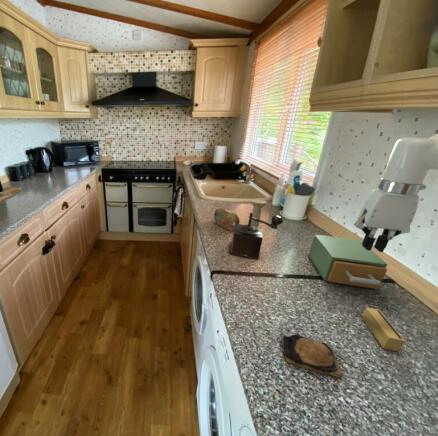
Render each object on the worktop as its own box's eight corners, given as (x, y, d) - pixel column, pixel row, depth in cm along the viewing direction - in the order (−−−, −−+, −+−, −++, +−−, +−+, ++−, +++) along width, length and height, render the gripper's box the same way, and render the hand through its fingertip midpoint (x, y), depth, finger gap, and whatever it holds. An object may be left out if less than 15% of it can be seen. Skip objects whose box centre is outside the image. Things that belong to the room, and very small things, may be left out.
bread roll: (330, 347, 57) (335, 336, 56) (342, 381, 50) (348, 369, 48) (280, 334, 61) (283, 323, 59) (285, 363, 53) (289, 351, 52)
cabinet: (376, 288, 77) (387, 264, 74) (324, 280, 81) (332, 256, 77) (351, 260, 92) (360, 239, 88) (308, 255, 96) (314, 234, 92)
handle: (245, 228, 118) (250, 199, 112) (259, 230, 116) (265, 200, 110) (246, 232, 114) (251, 202, 108) (260, 234, 112) (267, 203, 106)
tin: (213, 221, 125) (214, 206, 122) (217, 220, 126) (219, 205, 123) (233, 233, 113) (236, 216, 109) (239, 232, 114) (241, 215, 111)
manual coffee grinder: (230, 255, 95) (237, 212, 88) (231, 242, 104) (237, 203, 97) (273, 263, 90) (285, 218, 83) (270, 249, 100) (280, 208, 92)
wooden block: (361, 317, 66) (366, 307, 65) (374, 319, 65) (379, 309, 64) (383, 348, 57) (389, 337, 56) (398, 351, 56) (405, 340, 55)
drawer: (387, 299, 71) (397, 279, 68) (334, 290, 75) (342, 271, 72) (354, 262, 89) (361, 245, 86) (313, 257, 93) (318, 240, 90)
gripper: (425, 186, 64) (397, 246, 72) (355, 181, 68) (334, 239, 76) (449, 194, 58) (415, 260, 65) (369, 188, 62) (345, 251, 69)
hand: (372, 248), depth 70 cm, fingers closed
